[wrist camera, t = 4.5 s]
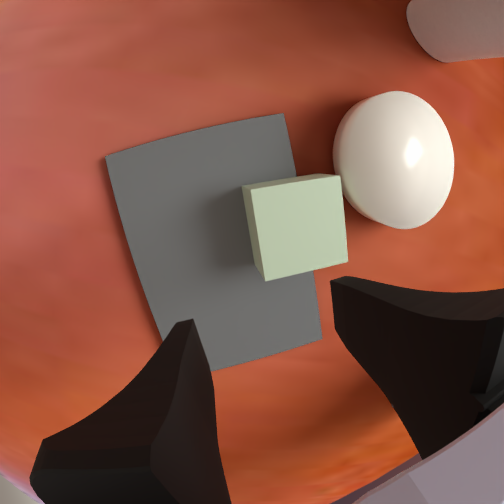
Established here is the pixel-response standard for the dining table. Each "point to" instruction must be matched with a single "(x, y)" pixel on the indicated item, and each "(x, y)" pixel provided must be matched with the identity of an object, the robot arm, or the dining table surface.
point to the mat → (212, 239)
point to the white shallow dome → (394, 159)
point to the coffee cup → (458, 28)
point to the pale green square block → (296, 224)
